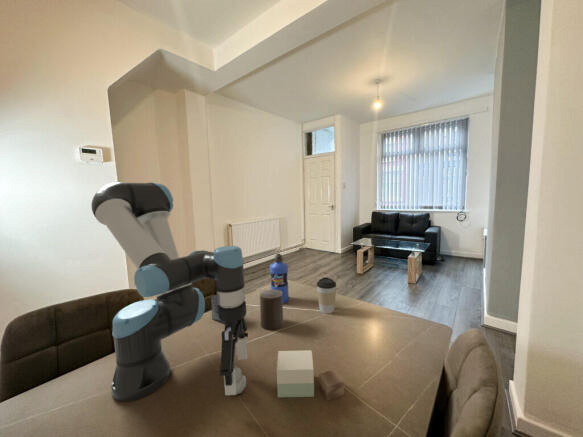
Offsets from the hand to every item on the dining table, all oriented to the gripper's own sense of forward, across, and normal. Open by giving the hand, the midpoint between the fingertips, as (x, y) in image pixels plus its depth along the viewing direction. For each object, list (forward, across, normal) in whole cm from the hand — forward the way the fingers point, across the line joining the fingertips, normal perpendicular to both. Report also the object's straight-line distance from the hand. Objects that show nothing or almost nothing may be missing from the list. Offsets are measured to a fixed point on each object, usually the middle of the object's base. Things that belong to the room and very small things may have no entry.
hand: (237, 374), depth 68 cm
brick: (+6, -1, -26) cm, 27 cm away
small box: (+4, +40, +16) cm, 43 cm away
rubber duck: (+5, 0, 0) cm, 5 cm away
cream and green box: (+5, +1, -16) cm, 17 cm away
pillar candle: (+5, +35, -6) cm, 36 cm away
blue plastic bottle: (+4, +58, -8) cm, 59 cm away
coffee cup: (+5, +46, -32) cm, 56 cm away
